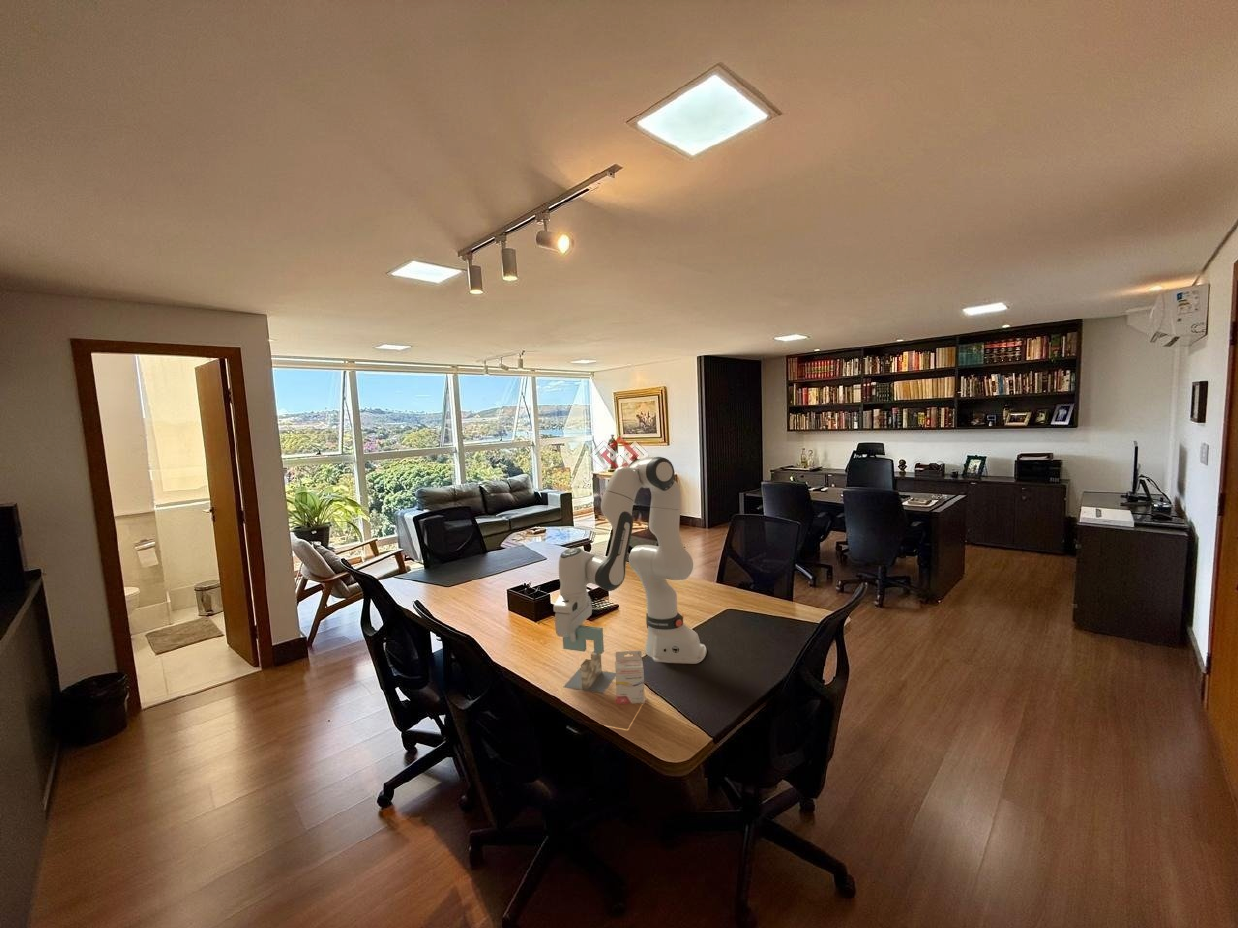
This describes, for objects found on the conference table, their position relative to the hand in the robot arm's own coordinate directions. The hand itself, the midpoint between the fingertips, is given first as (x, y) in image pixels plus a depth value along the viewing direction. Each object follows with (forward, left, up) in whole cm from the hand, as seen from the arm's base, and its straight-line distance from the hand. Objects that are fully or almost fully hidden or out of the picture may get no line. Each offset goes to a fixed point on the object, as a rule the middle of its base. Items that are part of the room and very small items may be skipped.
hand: (576, 638), depth 164 cm
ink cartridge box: (-21, +7, -14) cm, 26 cm away
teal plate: (-2, 0, -4) cm, 4 cm away
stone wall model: (-5, 0, -14) cm, 14 cm away
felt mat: (-5, 0, -14) cm, 15 cm away
